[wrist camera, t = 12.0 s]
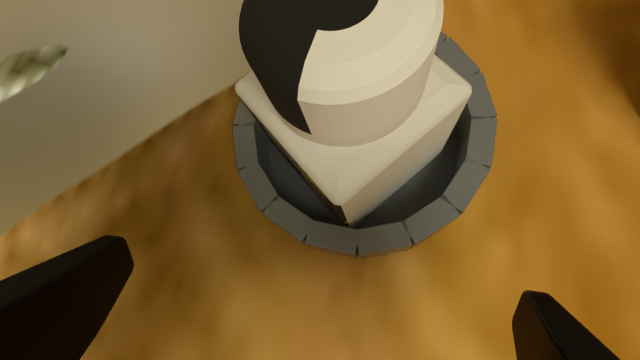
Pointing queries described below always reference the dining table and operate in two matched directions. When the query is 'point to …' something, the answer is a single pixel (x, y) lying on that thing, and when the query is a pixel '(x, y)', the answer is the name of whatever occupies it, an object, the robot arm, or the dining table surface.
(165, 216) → the dining table surface
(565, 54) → the dining table surface
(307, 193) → the round dish
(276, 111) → the medicine bottle
